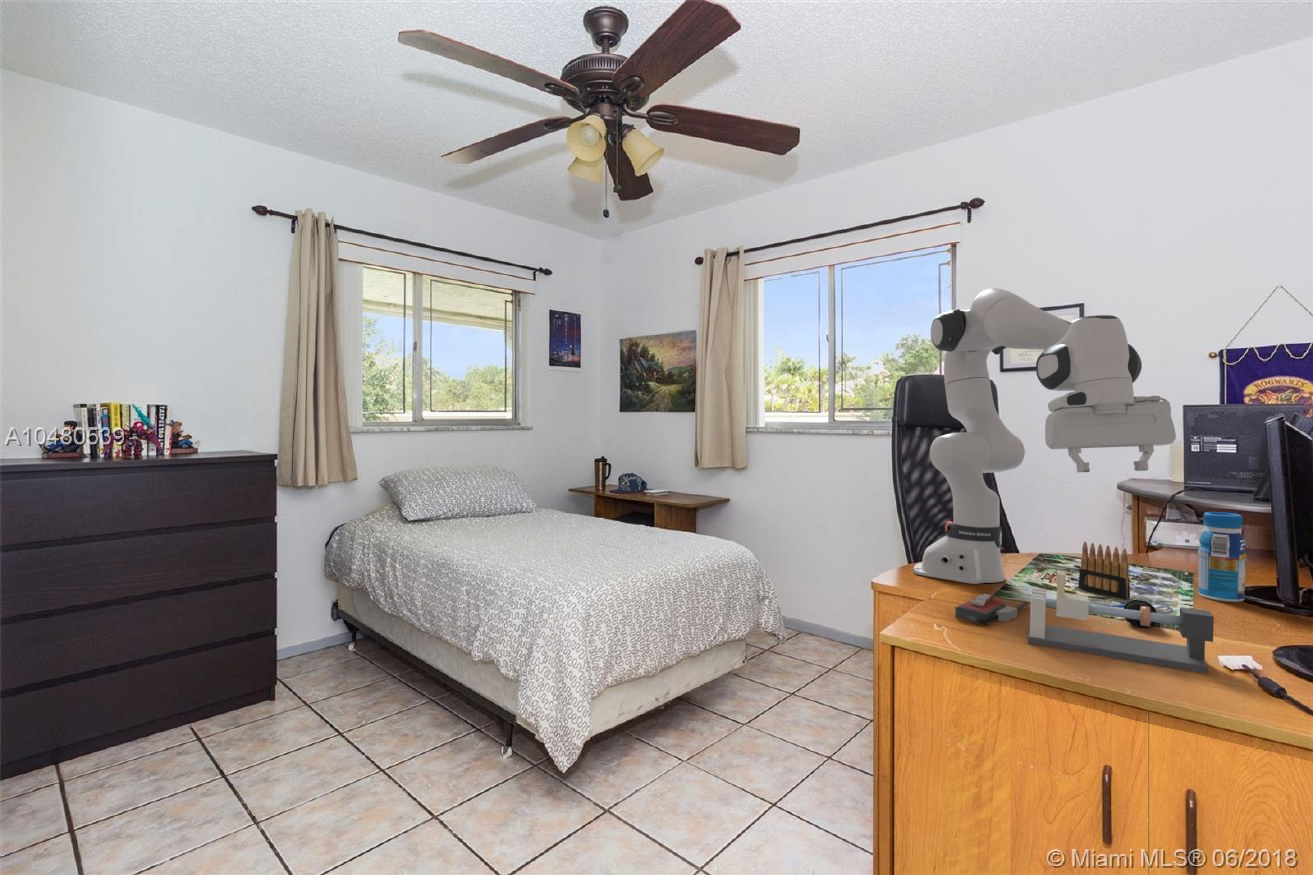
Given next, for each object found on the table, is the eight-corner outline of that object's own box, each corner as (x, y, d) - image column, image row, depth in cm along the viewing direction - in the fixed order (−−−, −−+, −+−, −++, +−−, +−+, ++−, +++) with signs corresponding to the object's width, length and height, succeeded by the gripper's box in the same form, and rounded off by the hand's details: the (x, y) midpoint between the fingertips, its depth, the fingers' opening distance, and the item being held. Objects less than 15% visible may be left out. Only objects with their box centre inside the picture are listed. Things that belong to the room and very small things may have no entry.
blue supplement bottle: (1187, 592, 150) (1189, 511, 149) (1220, 592, 150) (1222, 510, 149) (1220, 603, 141) (1222, 516, 140) (1255, 602, 141) (1258, 516, 141)
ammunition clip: (1078, 588, 154) (1078, 541, 154) (1082, 587, 155) (1083, 540, 155) (1125, 599, 145) (1126, 549, 144) (1130, 598, 145) (1131, 548, 145)
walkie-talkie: (993, 631, 125) (1031, 611, 138) (994, 610, 125) (1031, 591, 138) (950, 621, 132) (990, 602, 145) (950, 600, 132) (990, 583, 144)
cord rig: (1027, 643, 117) (1028, 596, 117) (1030, 628, 126) (1030, 584, 125) (1216, 675, 103) (1217, 622, 102) (1204, 655, 111) (1205, 606, 111)
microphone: (1138, 619, 140) (1127, 631, 126) (1129, 594, 141) (1117, 602, 127) (1168, 617, 136) (1160, 628, 122) (1159, 591, 138) (1150, 599, 124)
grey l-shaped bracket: (1056, 615, 117) (1057, 574, 117) (1056, 610, 120) (1057, 570, 120) (1088, 620, 115) (1089, 578, 114) (1087, 615, 118) (1088, 573, 117)
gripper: (1159, 398, 116) (1167, 470, 114) (1038, 404, 121) (1045, 474, 119) (1178, 391, 110) (1188, 468, 108) (1050, 398, 115) (1058, 472, 113)
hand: (1112, 471), depth 114 cm, fingers open, 8 cm apart
